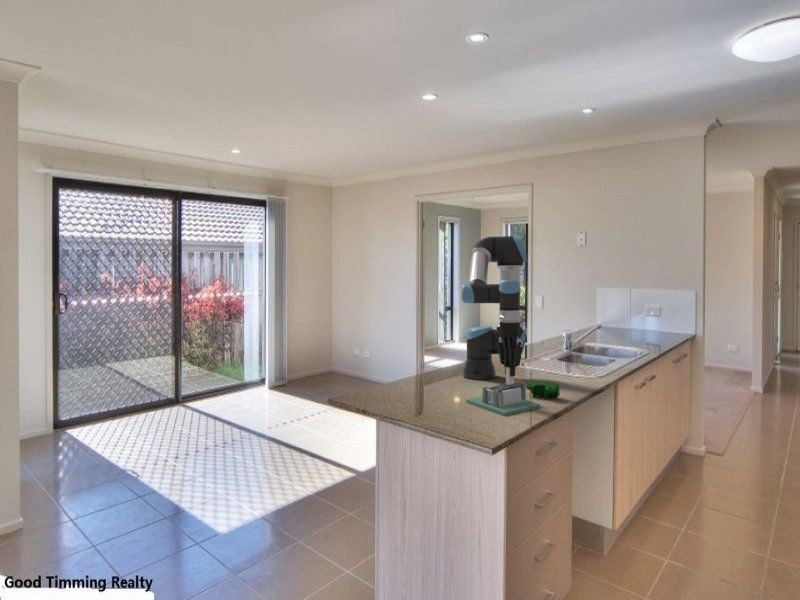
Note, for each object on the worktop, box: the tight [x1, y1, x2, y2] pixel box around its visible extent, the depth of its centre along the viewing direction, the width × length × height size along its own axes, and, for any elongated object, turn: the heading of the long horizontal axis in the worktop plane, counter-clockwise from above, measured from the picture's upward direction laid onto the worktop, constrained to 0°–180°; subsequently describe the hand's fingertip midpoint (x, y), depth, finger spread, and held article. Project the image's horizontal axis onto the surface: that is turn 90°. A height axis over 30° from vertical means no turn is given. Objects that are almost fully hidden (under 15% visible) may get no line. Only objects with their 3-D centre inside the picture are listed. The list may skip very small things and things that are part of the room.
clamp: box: [526, 379, 560, 401], centre depth 196 cm, size 12×6×9 cm, turn 42°
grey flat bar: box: [488, 379, 522, 392], centre depth 186 cm, size 14×4×2 cm, turn 123°
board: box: [465, 381, 541, 417], centre depth 186 cm, size 18×20×8 cm
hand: (510, 384), depth 187 cm, fingers closed
